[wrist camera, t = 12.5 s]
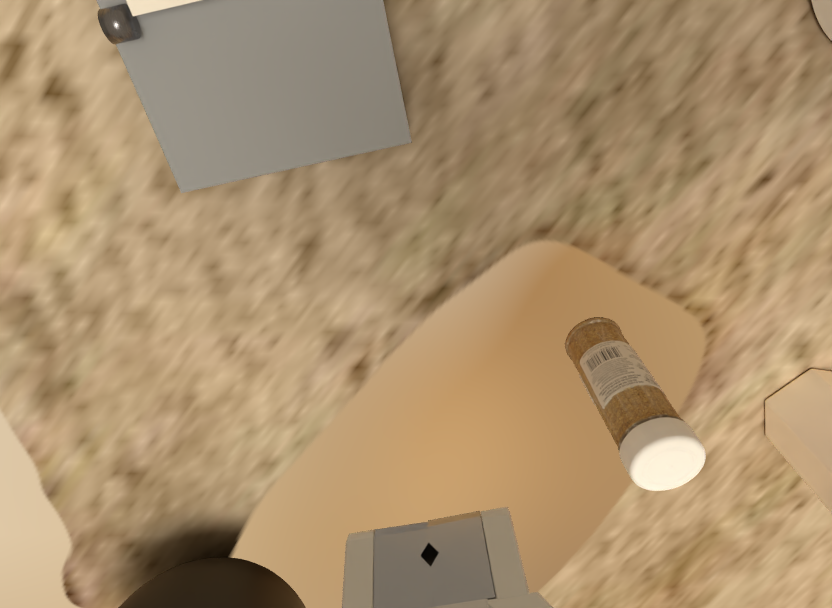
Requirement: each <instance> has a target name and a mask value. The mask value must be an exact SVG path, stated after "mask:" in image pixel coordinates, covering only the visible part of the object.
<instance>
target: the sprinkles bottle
mask: <svg viewBox="0 0 832 608" xmlns="http://www.w3.org/2000/svg"><path fill="white" fill-rule="evenodd" d="M565 348H566V352H567V354H568V355H569V357H570V359H571V360H572V361H573V362H574V364H575V366H576V368H577V370H578V372H579V375H580V378H581V380H582V382H583V384H584V386H585V388H586V390H587V392H588V394H589V396H590V398H591V399H592V401H593V403H594V404H595V405H596V407H597V409H598V411H599V413H600V415H601V416H602V418H603V420H604V422H605V424H606V426H607V428H608V429H609V431H610V433H611V435H612V437H613V439H614V441H615V442H616V444H617V446H618V450H619V453H620V458H621V461H622V463H623V465H624V466H625V468H626V470H627V472H628V474H629V475H630V477H631V479H632V480H633V481H634V482H635V483H636V484H637V485H638V486H640V487H642V488H644V489H647V490H652V491H663V490H669V489H673V488H676V487H679V486H681V485H683V484H685V483H687V482H688V481H690V480H691V479H692V478H694V477H695V476H696V475H697V474H698V473H699V471H700V470H701V469H702V467H703V465H704V463H705V458H706V454H705V449H704V447H703V445H702V443H701V442H700V440H699V439H698V437H697V436H696V434H695V433H694V431H693V430H692V429H691V427H690V426H689V425H688V424H687V423H685V421H684V420H682V419H681V418H680V417H679V415H678V414H677V413H676V411H675V410H674V408H673V407H672V406H671V404H670V402H669V401H668V399H667V398H666V395H665V394H664V392H663V391H662V389H661V388H660V386H659V385H658V384H657V382H656V381H655V379H654V378H653V376H652V375H651V374H650V372H649V371H648V369H647V368H646V366H645V365H644V363H643V362H642V361H641V359H640V358H639V357H638V355H637V353H636V352H635V350H634V349H633V348H632V347H631V346H630V345H629V343H628V342H627V340H626V339H625V338H624V336H623V335H622V333H621V330H620V328H619V326H618V325H617V324H616V323H615V322H614V321H612V320H610V319H606V318H603V317H601V318H600V317H594V318H590V319H587V320H585V321H583V322H581V323H579V324H578V325H576V326H575V327H574V328H573V329H572V330H571V331H570V333H569V334H568V337H567V339H566V343H565Z"/></svg>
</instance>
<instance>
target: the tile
mask: <svg viewBox="0 0 832 608" xmlns="http://www.w3.org/2000/svg"><path fill="white" fill-rule="evenodd" d="M196 1H201V0H126V2H127V4H128V6H129V9H130V11H131V13H132V16H137V15H141V14H145V13H150V12H154V11H158V10H162V9H167V8H171V7H175V6H179V5H184V4H188V3H192V2H196Z"/></svg>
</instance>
